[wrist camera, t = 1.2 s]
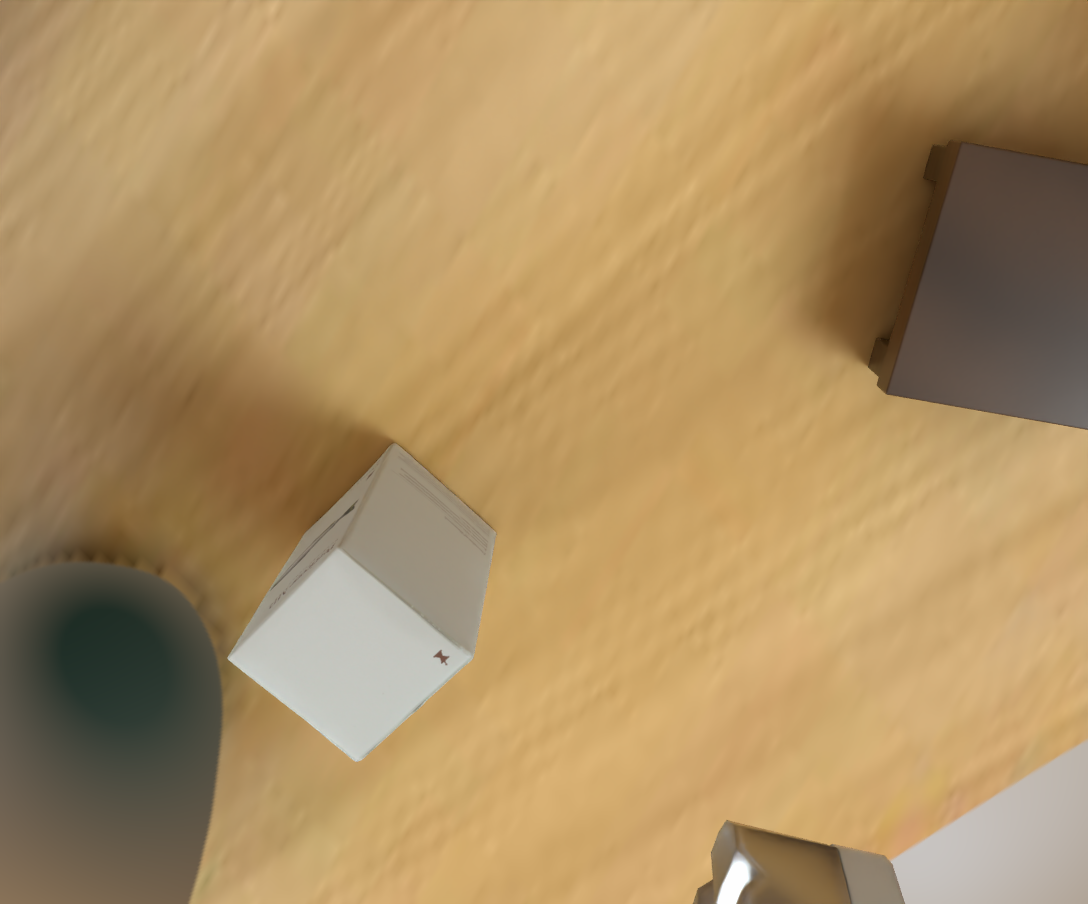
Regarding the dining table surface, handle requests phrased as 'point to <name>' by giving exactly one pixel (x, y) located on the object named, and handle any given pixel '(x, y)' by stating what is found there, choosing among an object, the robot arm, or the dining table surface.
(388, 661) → the white packaging box
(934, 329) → the walnut riser
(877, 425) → the dining table surface
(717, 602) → the dining table surface
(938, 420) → the dining table surface
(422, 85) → the dining table surface
